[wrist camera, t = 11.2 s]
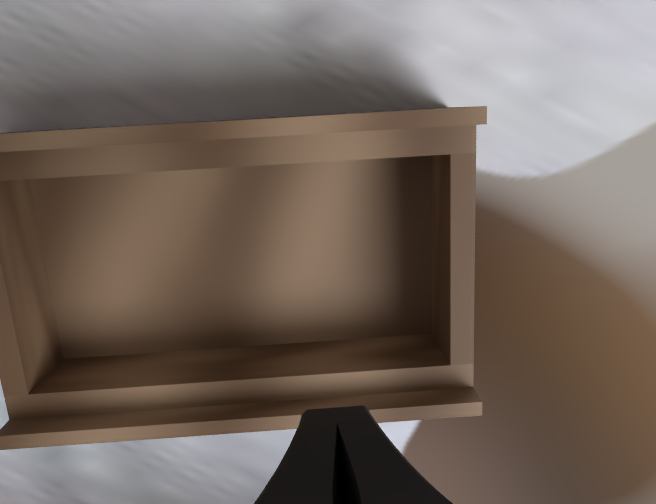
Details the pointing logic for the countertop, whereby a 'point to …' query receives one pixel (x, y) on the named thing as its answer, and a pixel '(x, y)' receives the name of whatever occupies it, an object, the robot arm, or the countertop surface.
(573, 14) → the countertop surface
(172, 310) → the walnut box
